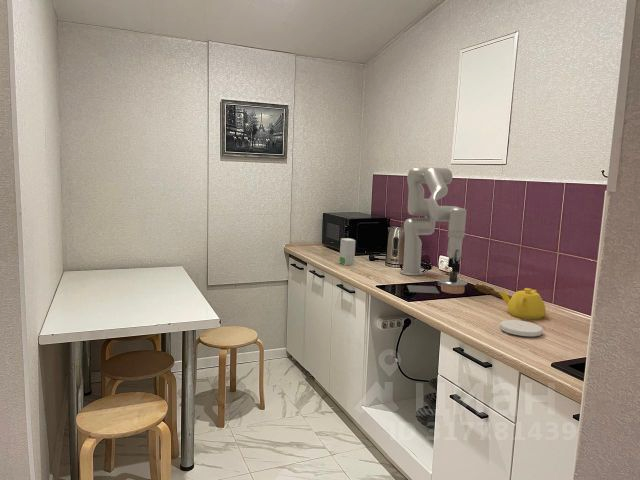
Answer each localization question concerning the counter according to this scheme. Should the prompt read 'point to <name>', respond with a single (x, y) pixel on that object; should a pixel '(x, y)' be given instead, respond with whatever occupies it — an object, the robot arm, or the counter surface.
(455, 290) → the bowl
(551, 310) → the counter surface
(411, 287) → the mat
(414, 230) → the robot arm
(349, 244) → the white cylinder
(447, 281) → the lid
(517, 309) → the teapot
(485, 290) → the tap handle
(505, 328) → the plastic lid
